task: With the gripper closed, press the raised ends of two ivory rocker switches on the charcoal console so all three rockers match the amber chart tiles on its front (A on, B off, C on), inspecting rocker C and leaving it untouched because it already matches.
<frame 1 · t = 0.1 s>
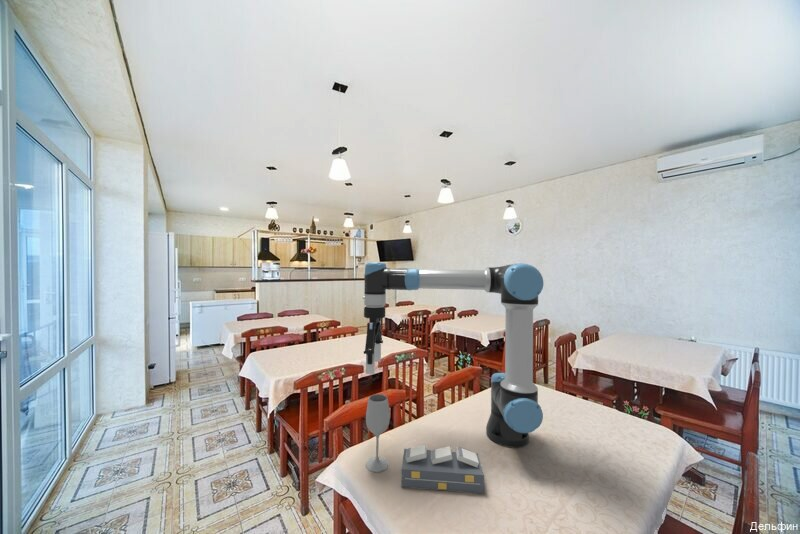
hand: (373, 367, 103), 28 cm above the table, fingers open, 13 cm apart
wineglass: (377, 465, 94), on the table
console: (441, 478, 88), on the table
rocker a: (467, 456, 87), point 7 cm above the table, hinge at -18.0°
rocker b: (441, 454, 88), point 7 cm above the table, hinge at 18.0°
rocker c: (416, 453, 89), point 7 cm above the table, hinge at 18.0°
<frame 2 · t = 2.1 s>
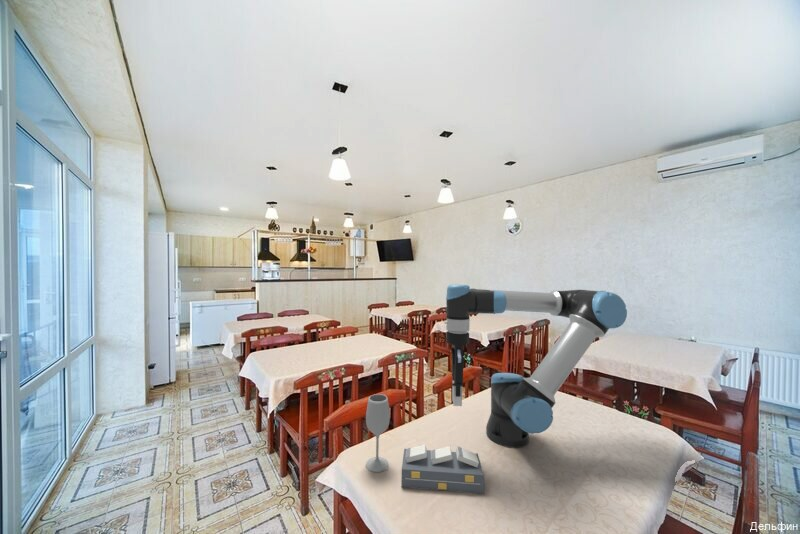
hand: (456, 403, 97), 19 cm above the table, fingers open, 3 cm apart
nothing on the table moved.
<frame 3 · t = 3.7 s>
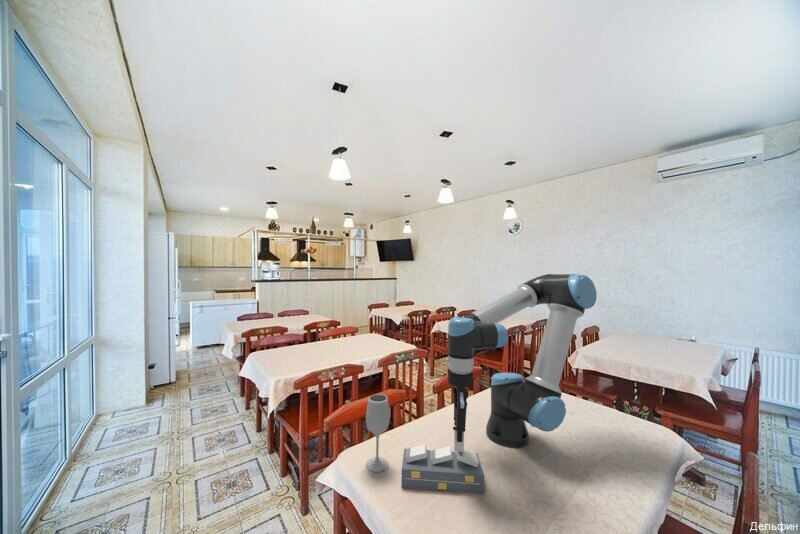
hand: (458, 450, 88), 9 cm above the table, fingers closed
rocker a: (467, 456, 87), point 7 cm above the table, hinge at -17.9°, touching gripper
everything else where it was.
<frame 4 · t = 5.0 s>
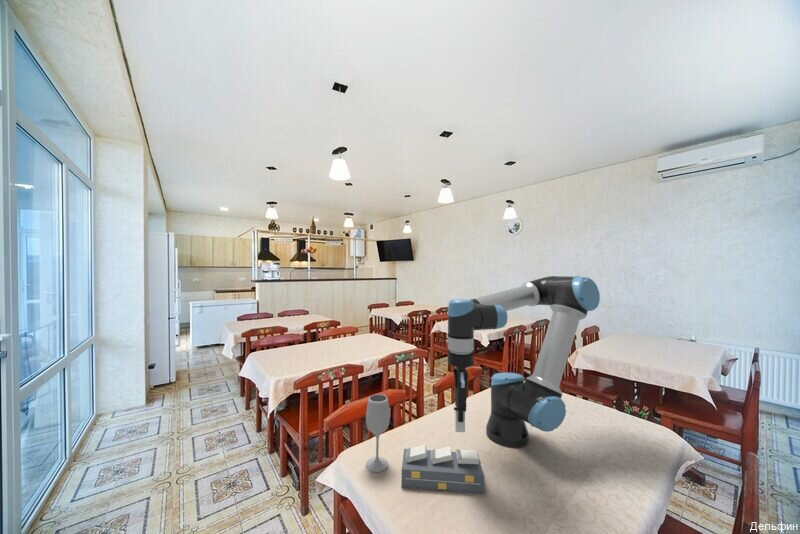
hand: (460, 430, 88), 14 cm above the table, fingers closed
rocker a: (466, 456, 87), point 7 cm above the table, hinge at 2.2°
rocker b: (441, 454, 88), point 7 cm above the table, hinge at 16.6°
everything else where it was.
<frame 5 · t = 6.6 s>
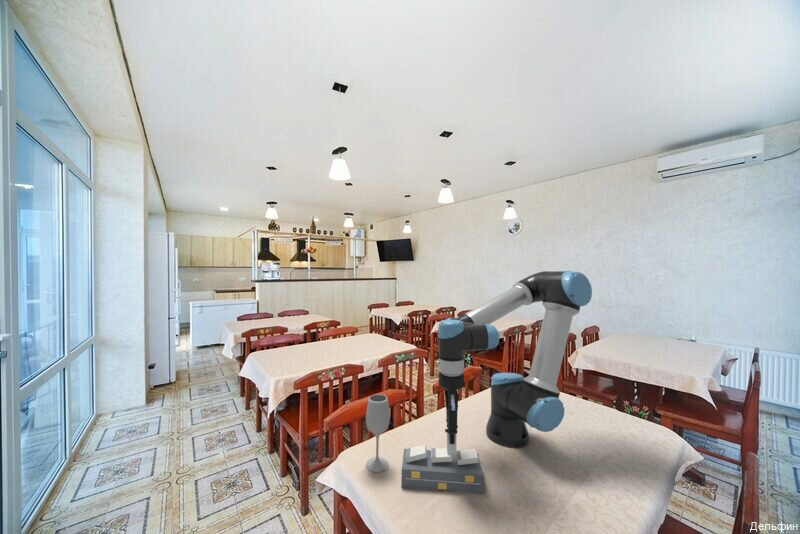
hand: (451, 452, 88), 8 cm above the table, fingers closed
rocker a: (466, 456, 88), point 7 cm above the table, hinge at 11.4°
rocker b: (441, 454, 88), point 7 cm above the table, hinge at 6.5°, touching gripper
everything else where it was.
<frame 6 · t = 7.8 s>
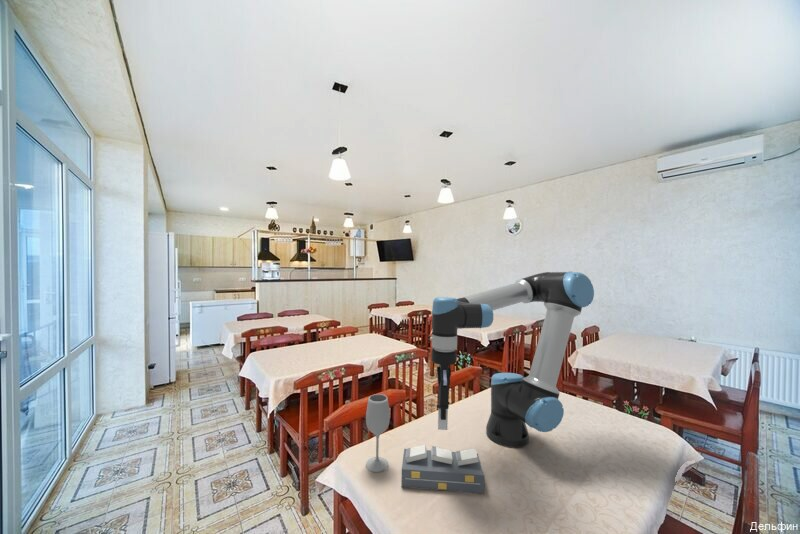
hand: (442, 428, 88), 15 cm above the table, fingers closed
rocker a: (466, 456, 88), point 7 cm above the table, hinge at 14.5°
rocker b: (441, 454, 88), point 7 cm above the table, hinge at -8.9°
everything else where it was.
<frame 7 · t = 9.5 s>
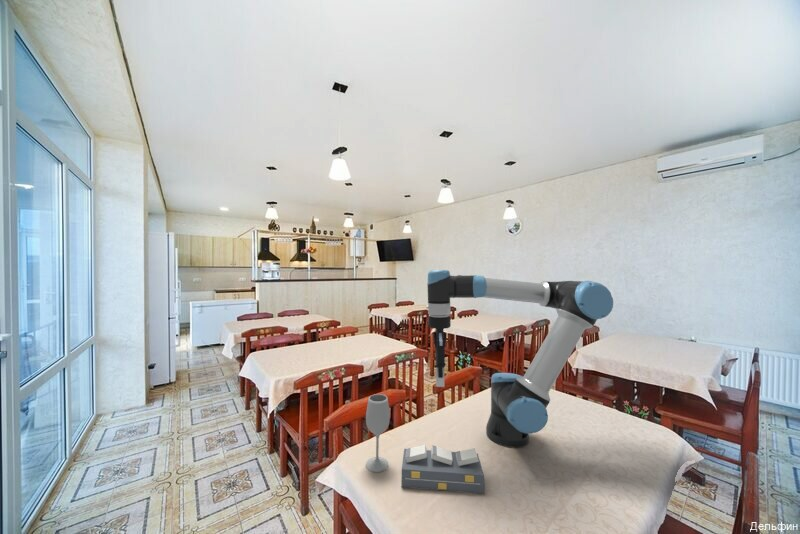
hand: (440, 385, 99), 23 cm above the table, fingers closed
rocker a: (466, 456, 88), point 7 cm above the table, hinge at 16.5°
rocker b: (441, 454, 88), point 7 cm above the table, hinge at -14.1°
everything else where it was.
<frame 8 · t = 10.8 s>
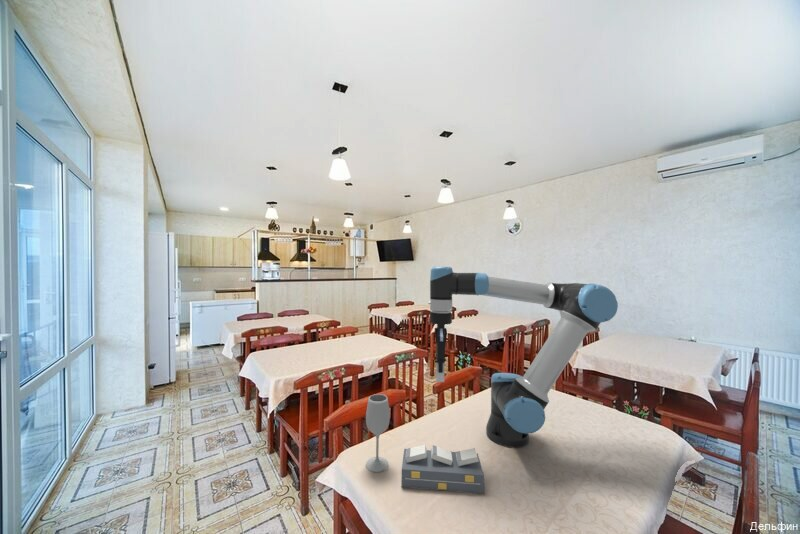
hand: (440, 381, 101), 24 cm above the table, fingers closed
rocker a: (466, 456, 88), point 7 cm above the table, hinge at 17.1°
rocker b: (441, 454, 88), point 7 cm above the table, hinge at -15.8°
everything else where it was.
at the end: rocker a at +17° (first picture: -18°); rocker b at -16° (first picture: +18°); rocker c at +18° (first picture: +18°) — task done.
